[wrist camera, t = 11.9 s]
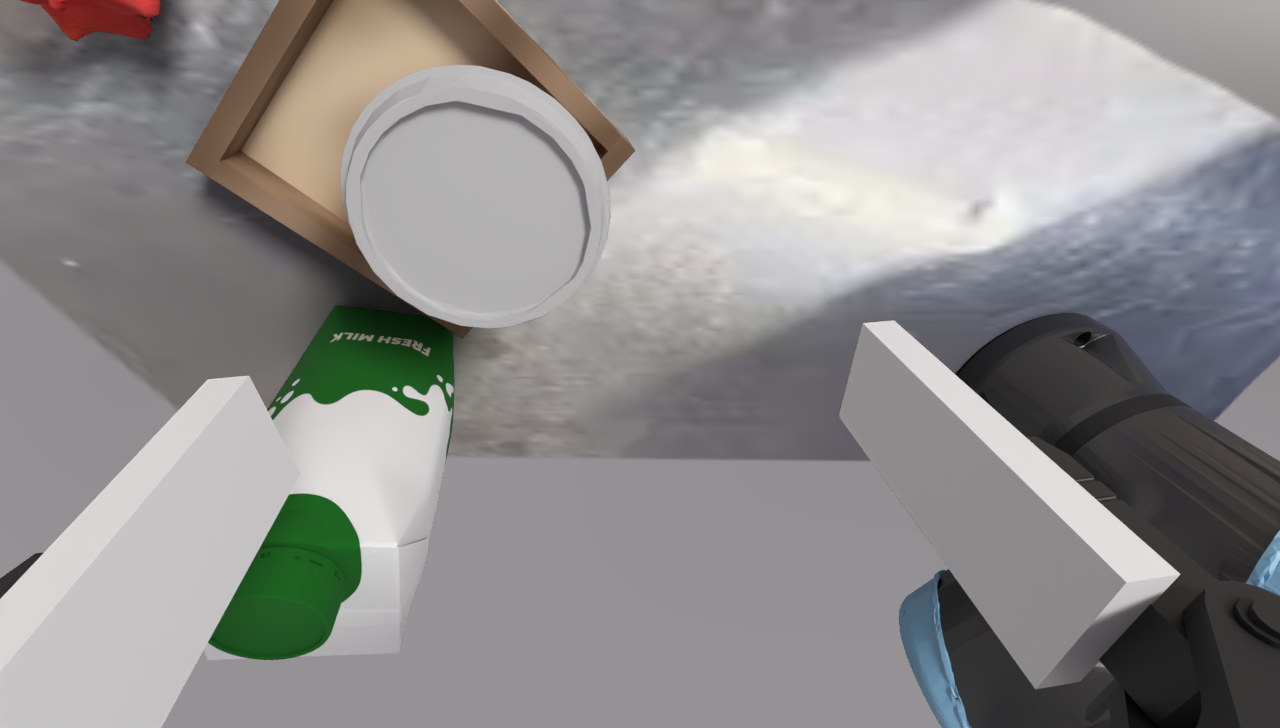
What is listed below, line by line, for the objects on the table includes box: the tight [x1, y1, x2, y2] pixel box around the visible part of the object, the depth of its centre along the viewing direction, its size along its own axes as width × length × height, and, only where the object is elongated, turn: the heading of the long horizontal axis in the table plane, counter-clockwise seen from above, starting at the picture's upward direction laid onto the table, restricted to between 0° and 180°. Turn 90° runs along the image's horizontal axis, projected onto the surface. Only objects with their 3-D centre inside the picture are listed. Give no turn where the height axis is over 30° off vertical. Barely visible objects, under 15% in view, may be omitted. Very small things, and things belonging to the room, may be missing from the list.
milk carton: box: [203, 306, 454, 660], centre depth 27 cm, size 9×9×20 cm
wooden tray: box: [186, 0, 635, 338], centre depth 27 cm, size 15×15×3 cm
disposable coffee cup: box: [341, 65, 610, 328], centre depth 23 cm, size 10×10×12 cm
